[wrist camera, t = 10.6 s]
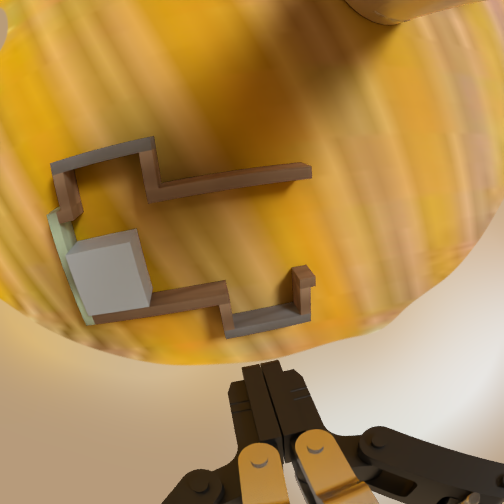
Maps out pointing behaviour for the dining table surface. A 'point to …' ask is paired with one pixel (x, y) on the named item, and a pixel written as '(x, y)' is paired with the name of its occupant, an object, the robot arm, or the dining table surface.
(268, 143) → the dining table surface
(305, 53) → the dining table surface
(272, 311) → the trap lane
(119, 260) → the block
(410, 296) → the dining table surface
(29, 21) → the dining table surface
